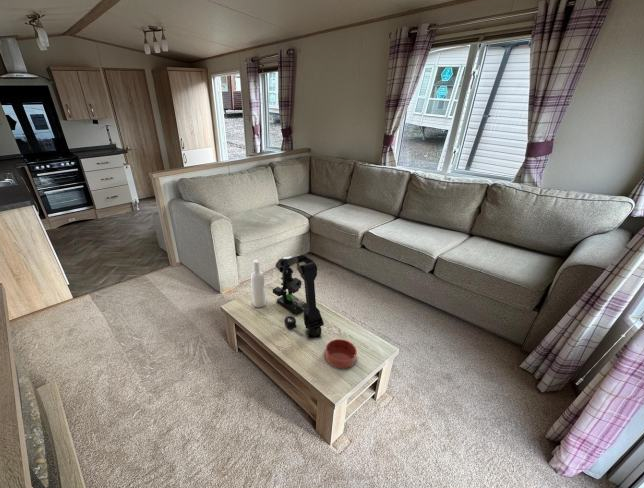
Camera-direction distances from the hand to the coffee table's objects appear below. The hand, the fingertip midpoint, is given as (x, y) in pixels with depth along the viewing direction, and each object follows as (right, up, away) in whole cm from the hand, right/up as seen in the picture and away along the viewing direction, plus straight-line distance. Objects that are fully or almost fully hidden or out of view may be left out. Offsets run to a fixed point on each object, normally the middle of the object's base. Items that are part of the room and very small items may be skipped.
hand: (287, 298), depth 182 cm
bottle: (-17, -4, +1) cm, 18 cm away
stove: (+3, -4, -1) cm, 5 cm away
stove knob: (+6, -4, -6) cm, 10 cm away
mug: (+2, -15, -19) cm, 25 cm away
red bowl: (+24, -25, -37) cm, 51 cm away
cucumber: (0, 0, 0) cm, 1 cm away
